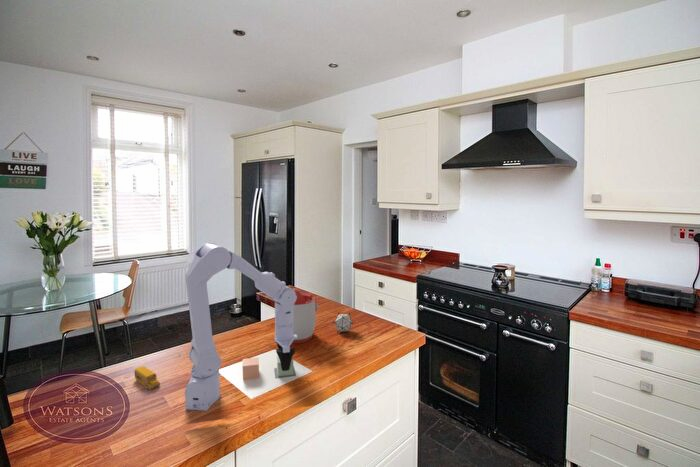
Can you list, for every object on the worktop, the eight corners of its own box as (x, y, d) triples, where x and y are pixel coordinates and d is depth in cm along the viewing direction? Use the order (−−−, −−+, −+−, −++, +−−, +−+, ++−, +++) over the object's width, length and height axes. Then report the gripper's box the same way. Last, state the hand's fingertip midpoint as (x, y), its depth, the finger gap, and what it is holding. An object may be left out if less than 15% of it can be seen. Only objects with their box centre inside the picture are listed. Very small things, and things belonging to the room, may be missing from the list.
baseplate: (251, 402, 98) (250, 398, 98) (216, 373, 113) (216, 370, 113) (312, 374, 113) (312, 371, 113) (274, 351, 129) (274, 349, 129)
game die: (338, 339, 149) (327, 318, 151) (355, 330, 152) (344, 309, 154) (342, 337, 141) (330, 315, 143) (360, 327, 144) (348, 305, 146)
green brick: (293, 374, 111) (293, 361, 110) (277, 376, 110) (277, 362, 109) (291, 367, 116) (291, 354, 115) (277, 369, 114) (276, 355, 114)
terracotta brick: (259, 378, 109) (258, 364, 108) (242, 380, 108) (242, 366, 107) (258, 370, 113) (258, 357, 113) (243, 372, 112) (243, 359, 112)
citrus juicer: (325, 343, 137) (325, 293, 134) (280, 350, 130) (280, 297, 128) (314, 328, 151) (314, 283, 149) (273, 334, 145) (272, 287, 142)
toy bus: (149, 391, 103) (148, 379, 103) (134, 380, 109) (134, 369, 109) (160, 386, 106) (160, 374, 105) (145, 376, 112) (144, 365, 111)
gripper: (299, 330, 105) (300, 374, 106) (294, 314, 119) (294, 352, 120) (275, 333, 103) (276, 377, 105) (273, 316, 117) (273, 355, 118)
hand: (284, 364), depth 112 cm, fingers open, 7 cm apart
